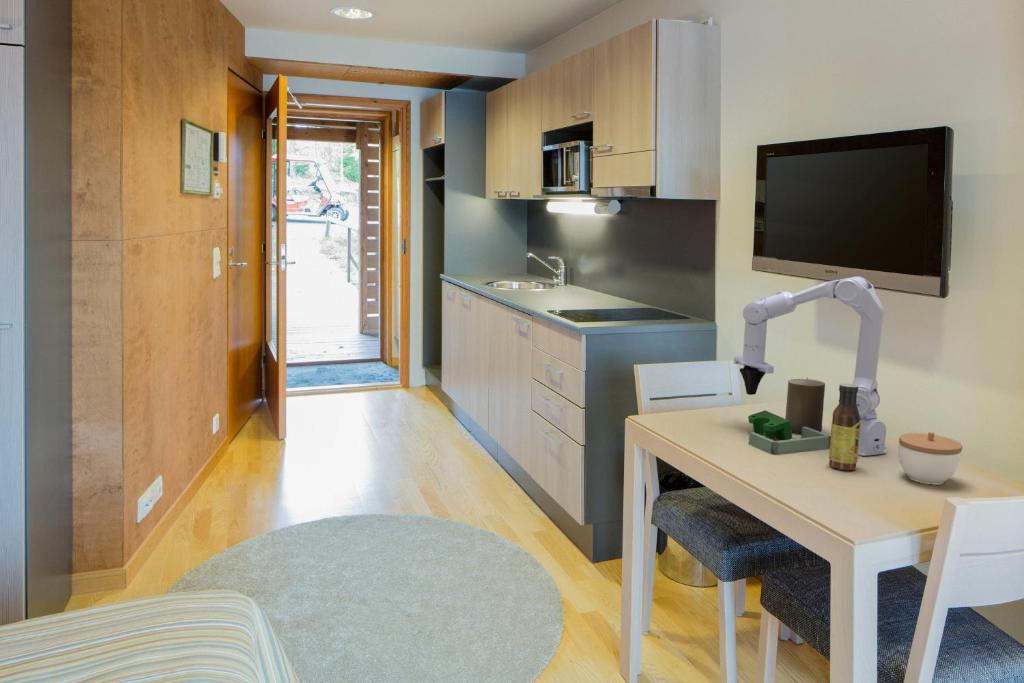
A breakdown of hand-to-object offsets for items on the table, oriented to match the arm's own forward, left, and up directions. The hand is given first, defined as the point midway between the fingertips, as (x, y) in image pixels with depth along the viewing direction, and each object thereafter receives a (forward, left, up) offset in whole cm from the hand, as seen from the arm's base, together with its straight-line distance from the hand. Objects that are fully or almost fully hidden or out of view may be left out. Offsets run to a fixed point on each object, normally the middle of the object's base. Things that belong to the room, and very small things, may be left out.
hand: (751, 394), depth 215 cm
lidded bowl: (-48, -12, -10) cm, 50 cm away
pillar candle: (-6, -14, -10) cm, 18 cm away
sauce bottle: (-35, 0, -10) cm, 36 cm away
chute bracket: (-16, 0, -10) cm, 19 cm away
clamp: (-8, 0, -10) cm, 13 cm away
